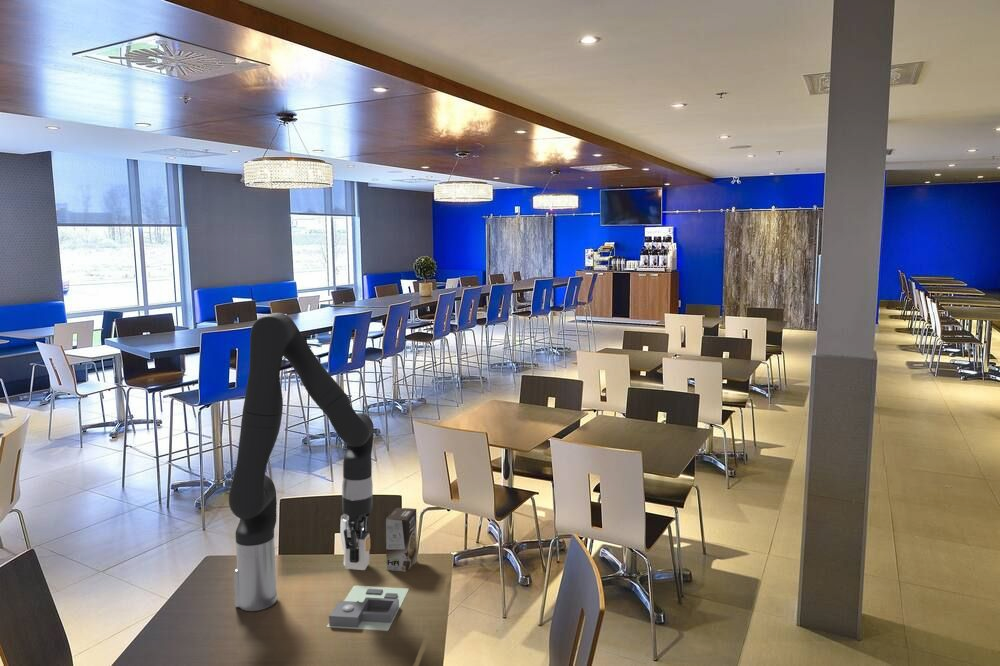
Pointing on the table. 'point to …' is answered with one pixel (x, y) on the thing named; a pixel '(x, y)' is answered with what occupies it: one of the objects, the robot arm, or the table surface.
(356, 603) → the grey button block
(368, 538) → the plug
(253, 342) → the robot arm
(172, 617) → the table surface
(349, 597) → the board
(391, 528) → the coffee box
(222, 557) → the table surface
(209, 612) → the table surface
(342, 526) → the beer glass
